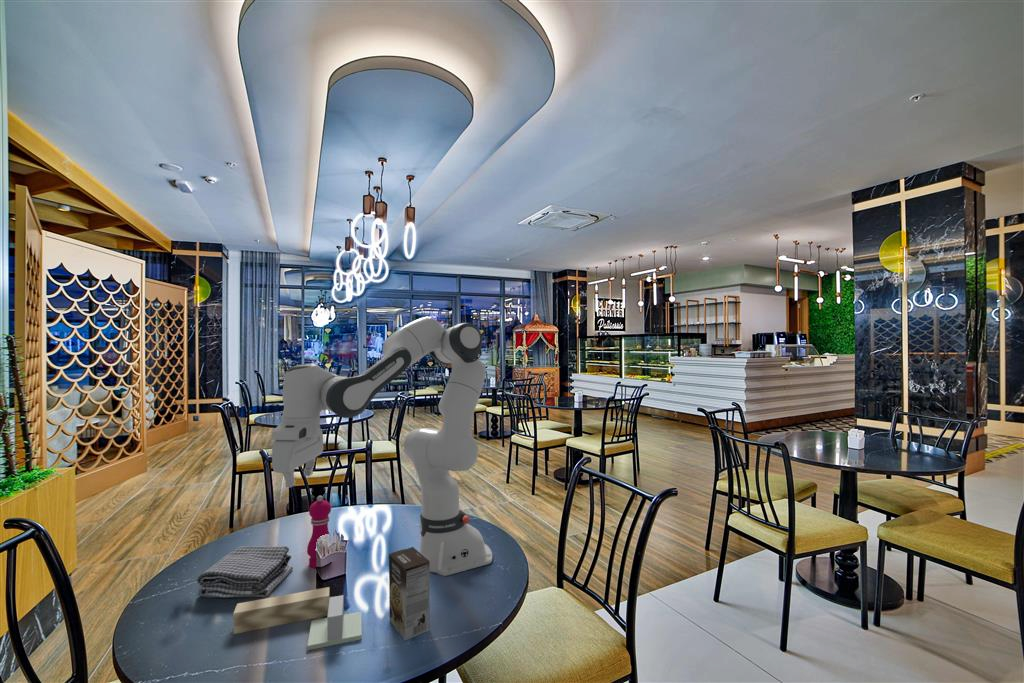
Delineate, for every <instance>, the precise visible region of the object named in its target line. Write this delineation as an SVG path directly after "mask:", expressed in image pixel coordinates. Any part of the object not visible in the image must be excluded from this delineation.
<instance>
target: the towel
mask: <svg viewBox="0 0 1024 683" xmlns="http://www.w3.org/2000/svg"><path fill="white" fill-rule="evenodd" d="M289 550H290V549H289V547H288V546H285V545H283V546H263V545H261V546H260V545H258V546H254V545H253V546H248V545H247V546H246V545H245V546H244V545H243V546H238V547H236V548H235V549H233V550H231V551H230V552H229V553H228V552H227V554H226V555H225V556H223V557H222V558H220V559H219V560H217V562H215V563H214V564H213V565H211V566H209V568H206V570H205V571H203V572H202V573H200V575H199V576H198V578H197V579H196V582H197V583H198V585H199V586H200V588H199V589H198V593H197V595H198V596H199V597H203V598H225V599H226V598H228V599H229V598H262V599H265V598H267V596H268V595H270V594H271V592H273V590H274V589H275V588H276V587H277V586H278V585H279V584H280V583H281V582H282V581H283V580H284V579H285V578H286V577H287V576H288V575H289V574H290V573H291V572H292V571H293V569H294V567H293V566H292V565H291V564H289V562H290V560H291V558H292V555H290V554H288V553H289V552H290V551H289Z"/></svg>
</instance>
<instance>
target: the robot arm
mask: <svg viewBox="0 0 1024 683" xmlns="http://www.w3.org/2000/svg"><path fill="white" fill-rule="evenodd" d="M482 347H483V336H482V332H481V330H480V329H479V327H478V326H477V325H475V324H473V323H470V322H461V323H458V324H455V325H453V326H451V327H449V328H444V327H443V326H442V325H441V322H439V321H438V320H437V319H436V318H434V317H432V316H424V317H420V318H418V319H415V320H413V321H410V322H409V323H407V324H405V325H403V326H402V327H400V328H398V329H397V330H396V331H394V332H393V333H392V334H390V335H389V336H388V337H387V338H386V339H385V340H384V341H383V344H382V353H383V357H382V358H381V359H380V360H379V361H377V362H376V363H375V364H373V365H372V366H370V367H369V368H368V369H367V370H365V371H363V373H361V374H359V375H355V376H350V377H347V376H342V375H338V374H336V373H333V372H330V371H329V370H328V371H327V370H326V369H324V368H322V367H321V366H319V364H317V363H313V362H312V363H309V362H308V363H302V364H295V365H293V366H291V367H289V368H288V369H287V370H286V372H285V374H284V378H283V384H282V385H283V386H282V387H283V388H282V401H283V402H282V403H283V411H282V415H281V421H280V422H279V423H278V425H277V426H276V427H275V429H274V428H273V430H272V432H271V435H270V436H271V437H270V438H271V440H272V441H274V442H273V444H272V447H271V465H272V466H271V467H272V469H273V470H272V471H274V473H276V474H282V475H283V478H284V480H285V482H284V483H285V484H284V485H285V487H286V488H292V487H294V486H296V480H297V478H295V477H294V473H295V469H297V468H299V467H301V466H302V465H305V468H304V469H303V476H304V477H310V476H312V475H313V474H314V467H315V465H316V464H315V463H316V458H317V457H318V456H320V455H322V454H323V452H324V434H323V430H322V428H321V427H320V426H321V425H320V421H321V420H320V419H321V416H320V415H321V411H329V412H331V413H333V414H335V415H336V416H338V417H341V418H343V419H344V418H346V419H349V418H350V419H351V418H355V417H357V416H359V415H361V414H362V413H363V412H364V411H365V410H366V409H367V408H368V406H369V405H370V403H371V402H372V400H373V399H374V397H375V396H376V395H377V394H378V393H379V392H381V390H383V389H384V388H385V387H386V386H388V385H389V384H390V383H392V382H393V381H394V380H395V379H396V378H397V377H399V376H400V375H401V374H402V373H403V372H405V371H406V370H407V369H408V368H410V367H411V366H413V365H414V364H415V363H417V362H418V361H420V360H422V358H424V357H425V356H427V355H428V354H429V355H430V356H432V357H431V358H433V359H434V360H435V361H436V362H437V363H439V364H441V365H451V373H450V374H451V375H450V377H449V378H448V381H447V383H446V385H445V388H444V391H443V393H442V394H441V398H440V401H439V403H438V410H439V413H440V414H441V416H442V417H443V423H442V427H441V429H440V428H433V427H419V428H415V429H414V428H413V429H412V430H410V431H409V432H408V434H407V435H406V437H405V439H404V441H403V442H404V443H403V452H404V454H405V455H406V457H407V458H408V459H409V460H410V462H411V463H412V465H413V467H414V470H415V472H416V475H417V478H418V482H419V485H420V486H419V487H420V493H421V494H420V495H421V497H420V498H421V513H420V516H419V533H420V542H419V543H420V544H419V548H418V552H419V553H421V554H422V555H423V556H424V557H425V558H426V559H428V560H429V561H430V573H436V574H438V575H440V576H444V577H447V576H451V575H454V574H458V573H461V572H465V571H468V570H471V569H475V568H478V567H479V568H480V567H482V566H486V565H490V564H491V563H492V561H493V559H494V558H493V551H492V550H491V547H489V546H488V544H486V543H485V541H484V538H483V536H482V534H481V532H480V531H479V530H478V528H475V527H474V526H472V525H471V524H470V522H471V519H470V517H469V516H468V515H467V514H466V512H465V511H463V509H461V508H460V488H459V484H458V483H457V481H456V480H455V478H453V477H452V475H451V473H450V472H461V471H462V472H463V471H465V472H466V471H469V470H471V469H472V468H473V466H474V465H475V464H476V462H477V460H478V458H479V447H478V446H479V445H478V443H477V441H476V439H475V437H474V436H473V429H472V426H473V425H472V423H473V418H474V414H475V412H476V411H475V410H476V407H477V405H478V402H479V400H480V396H481V394H482V390H483V387H484V383H485V379H486V372H487V368H486V366H485V364H484V363H483V362H482V360H480V358H481V356H482V353H483V352H482V351H483V350H482Z"/></svg>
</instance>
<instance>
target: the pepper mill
mask: <svg viewBox="0 0 1024 683" xmlns="http://www.w3.org/2000/svg"><path fill="white" fill-rule="evenodd" d="M331 511H332V505H331V504H330V502H329V501H328V500H326V499H325V500H324V496H322V495H318V496H317V497H316V501H314V502H312V503H311V504H310V507H309V510H308V514H309V516H310V517H311V518H310V521H311V522H310V524H311V525H312V533H311V536H310V539H309V542H308V543H307V550H306V553H307V555H308V557H309V558H308V566H309V567H310V568H313V569H317V568H316V551H315V549H316V542H317V539H318V538H319V537H320V536H322V535H325V534H330V532H329V526H328V524H329V522H330V513H331Z"/></svg>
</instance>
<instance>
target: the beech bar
mask: <svg viewBox="0 0 1024 683" xmlns="http://www.w3.org/2000/svg"><path fill="white" fill-rule="evenodd" d="M330 595H331V594H330V586H327V587H321V588H316V589H310V590H305V591H299V592H294V593H289V594H284V595H283V594H282V595H277V596H272V597H265V598H262V599H256V600H249V601H245V602H239V603H237V604H236V606H235V609H234V611H233V614H232V616H233V617H232V618H233V619H232V620H233V625H232V626H233V635H235V634H236V635H237V634H241V633H246V632H251V631H256V630H261V629H266V628H271V627H278V626H281V625H286V624H291V623H296V622H302V621H306V620H307V621H308V620H311V619H312V620H313V619H317V618H321V617H328V609H329V600H330V597H331V596H330Z"/></svg>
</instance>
